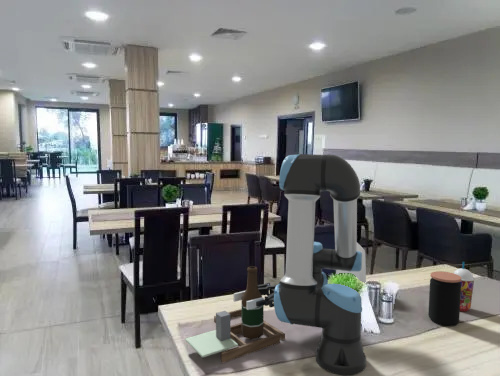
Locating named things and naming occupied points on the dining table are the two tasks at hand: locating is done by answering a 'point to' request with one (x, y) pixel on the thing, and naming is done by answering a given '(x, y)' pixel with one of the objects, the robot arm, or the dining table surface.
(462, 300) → the smoothie
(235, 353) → the brown flat frame
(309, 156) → the robot arm
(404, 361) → the dining table surface
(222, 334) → the cover
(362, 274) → the milk
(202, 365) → the dining table surface
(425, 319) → the dining table surface
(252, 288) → the beer bottle
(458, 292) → the coffee jar
